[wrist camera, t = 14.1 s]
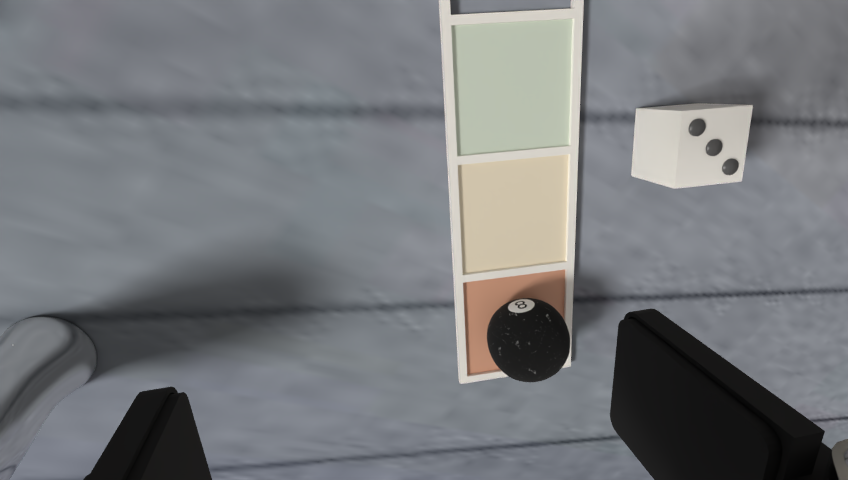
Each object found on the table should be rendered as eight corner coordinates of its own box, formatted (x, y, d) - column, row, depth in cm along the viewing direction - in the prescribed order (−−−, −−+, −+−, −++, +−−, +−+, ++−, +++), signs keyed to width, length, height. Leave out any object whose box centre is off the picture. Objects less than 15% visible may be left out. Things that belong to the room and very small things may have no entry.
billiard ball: (486, 362, 38) (510, 408, 33) (471, 298, 36) (494, 336, 31) (554, 340, 39) (589, 383, 33) (543, 277, 37) (578, 310, 31)
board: (430, -152, 27) (432, -157, 27) (584, -153, 29) (589, -158, 28) (458, 379, 39) (460, 384, 38) (567, 362, 40) (570, 366, 39)
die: (635, 108, 34) (684, 111, 29) (698, 103, 35) (755, 105, 30) (631, 175, 36) (675, 189, 31) (690, 169, 36) (743, 181, 31)
